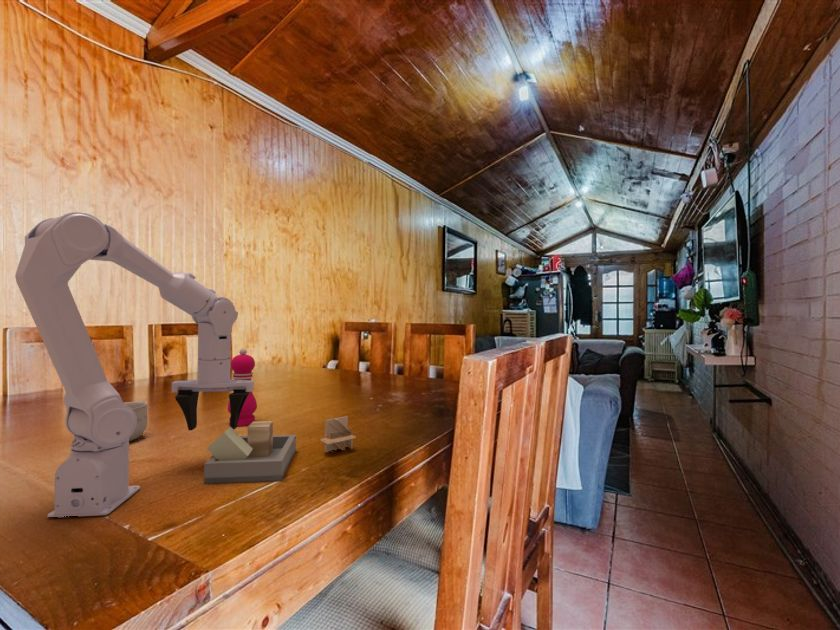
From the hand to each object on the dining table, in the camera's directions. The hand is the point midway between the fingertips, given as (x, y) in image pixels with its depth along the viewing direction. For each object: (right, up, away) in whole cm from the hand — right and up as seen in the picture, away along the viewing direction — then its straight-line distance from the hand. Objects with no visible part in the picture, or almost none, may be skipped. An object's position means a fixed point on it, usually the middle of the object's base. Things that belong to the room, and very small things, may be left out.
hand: (213, 428), depth 81 cm
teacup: (-28, -7, +16) cm, 33 cm away
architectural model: (+23, -8, +9) cm, 26 cm away
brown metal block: (+8, -6, +4) cm, 11 cm away
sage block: (+7, -5, -4) cm, 9 cm away
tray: (+8, -7, 0) cm, 11 cm away
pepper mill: (-7, -7, +30) cm, 32 cm away
